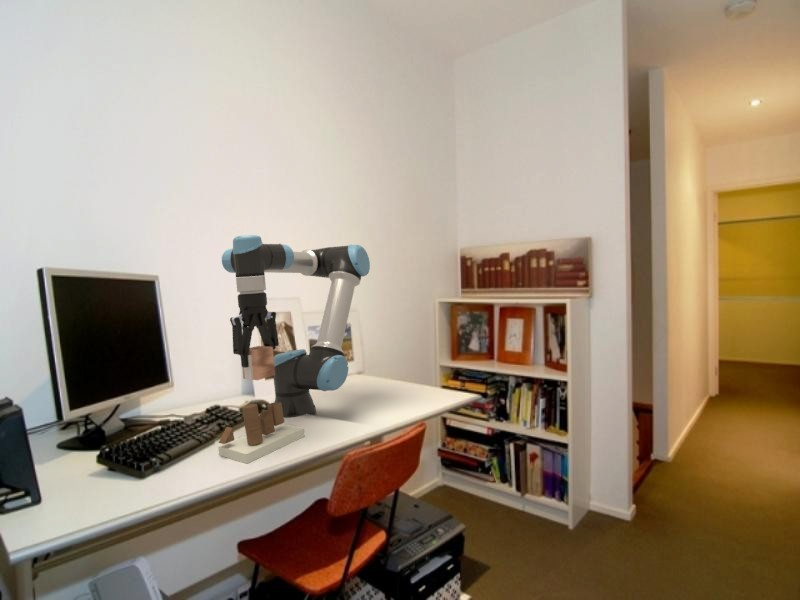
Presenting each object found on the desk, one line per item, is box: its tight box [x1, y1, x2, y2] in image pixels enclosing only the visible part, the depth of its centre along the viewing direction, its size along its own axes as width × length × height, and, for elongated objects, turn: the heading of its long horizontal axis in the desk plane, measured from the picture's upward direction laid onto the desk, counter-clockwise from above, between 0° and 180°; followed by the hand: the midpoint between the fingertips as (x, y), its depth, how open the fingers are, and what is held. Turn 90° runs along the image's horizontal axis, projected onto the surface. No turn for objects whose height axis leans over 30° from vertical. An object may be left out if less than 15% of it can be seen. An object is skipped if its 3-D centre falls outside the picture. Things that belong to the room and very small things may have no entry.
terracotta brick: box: [241, 345, 275, 381], centre depth 122 cm, size 6×6×8 cm
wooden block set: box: [218, 401, 285, 445], centre depth 122 cm, size 18×9×10 cm, turn 141°
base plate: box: [217, 423, 306, 464], centre depth 124 cm, size 20×12×2 cm, turn 146°
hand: (259, 375), depth 122 cm, fingers closed on terracotta brick, 6 cm apart
